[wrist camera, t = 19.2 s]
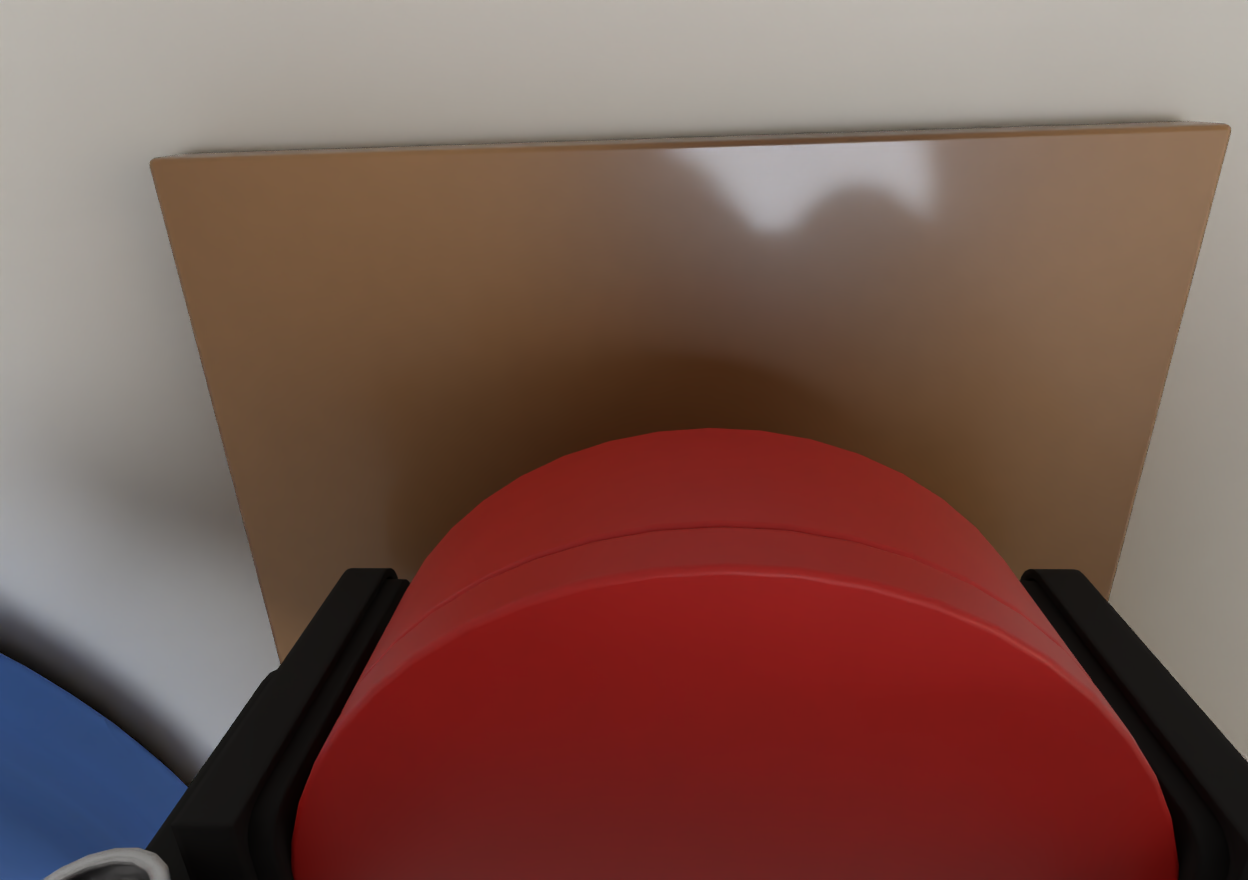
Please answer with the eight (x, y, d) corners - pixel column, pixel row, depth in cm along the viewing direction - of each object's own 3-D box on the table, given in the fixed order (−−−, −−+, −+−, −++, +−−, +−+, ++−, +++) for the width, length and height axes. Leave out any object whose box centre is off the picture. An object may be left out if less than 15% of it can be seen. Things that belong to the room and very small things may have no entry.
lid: (423, 933, 11) (357, 1159, 8) (323, 428, 8) (179, 567, 6) (988, 949, 10) (1081, 1193, 8) (1110, 421, 7) (1309, 567, 5)
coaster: (1190, 120, 9) (1236, 123, 8) (1014, 849, 14) (1034, 891, 13) (182, 153, 10) (144, 158, 9) (351, 841, 15) (335, 880, 14)
